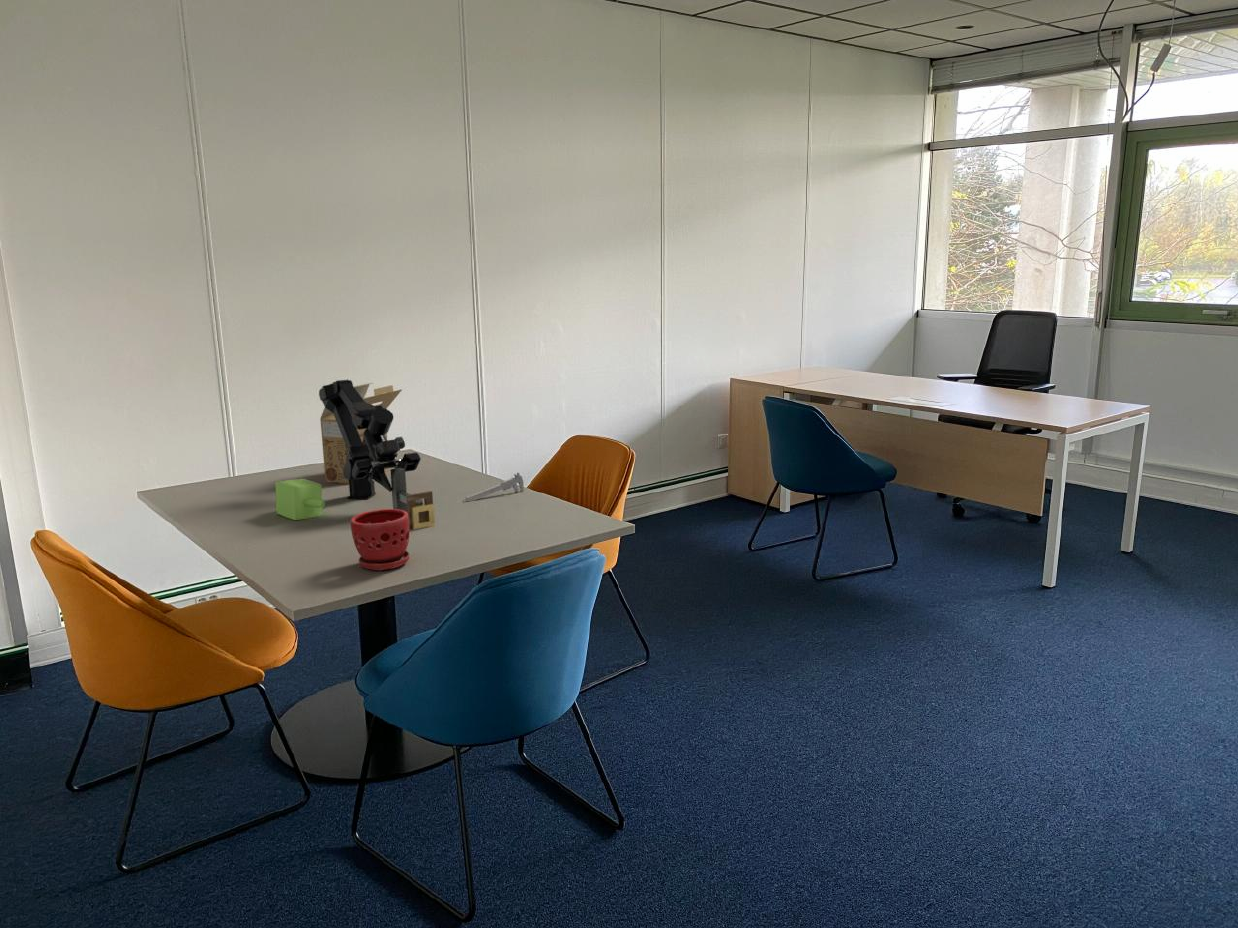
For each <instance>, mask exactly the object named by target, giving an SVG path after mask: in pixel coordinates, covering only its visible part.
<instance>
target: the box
mask: <svg viewBox="0 0 1238 928" xmlns="http://www.w3.org/2000/svg"><path fill="white" fill-rule="evenodd" d="M372 384H373V382H368V383H363V384H360V385H355V386H354V385H353V387H354V388H355V389H356V390H357V392H358V393H359V394H360V396H361V397H362V398H363V400H364V401H365V402H366V403H368V404H371V405H373V404H374V406H379V405H382V407H383V408H385V409H387V410H388V407H389V406H390V405H391V404H392V403H393V402H394V400H396V398H397V397H398V396H399V394H400V393H401V392H402V391H403V389H402V388H401V389H398V390H394V386H393V385H387V386H384V387H383V386H382V387H377V388H374V389H373V394H374V395H372V396H368V397H366V394H367V392H368V390H369V387H370V385H372ZM377 403H378V404H377ZM379 403H380V404H379ZM375 404H376V405H375ZM349 410H350V409H349ZM350 413H351V415H352V412H351V411H350ZM319 420H320V431H321V441H322V442H321V443H322V454H323V467H324V477H325V482H326V481H329V482H328V483H335V482H338V483H337V484H346V483H348V485H349V479H347V478H345V477H344V474H343V469H344V466H345V464H346V457H347V454H348V450H347V447H346V444H345V442H344V439H343V437H342V434H341V432H340V429H339V427H338V424H337V421H336V419H335V416H334V414H333V413H332V412H331V411H329V410H328V409H327V408H325V407H324V408H323V411H322V413H321V415H320V419H319ZM357 430H358V429H357ZM365 430H366V429H359V430H358V433H359V435H360V438H361V440H362V443H363V444H364V445H366V442H363V433H364V431H365ZM385 437H386V439H387V440H388V433H387V434H385ZM384 471H385V473H386V472H389V471H390V468H388V469H384Z"/></svg>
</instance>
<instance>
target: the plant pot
mask: <svg viewBox="0 0 1238 928" xmlns="http://www.w3.org/2000/svg"><path fill="white" fill-rule="evenodd" d="M410 530H411V529H410V528H409V517H408V513H407V512H406V511H403V510H398V509H393V508H388V509H387V508H385V509H376V510H369V511H365V512H362V513H359V514H356V515H354V516H353V517H351V519H350V531H351V535H352V540H353V542H354V546H355V549H356V550H357V552H358V554H359V556H360V557H359V558H358V563H359V565H361V566H362V567H363V568H365V569H368V570H372V571H384V570H391V569H395V568H399V567H401V566H403V565H404V564H406V563H407V562H408V561H409V559H410V557H411V553H410V552H409V551H408V550H407V548H408V546H409V541H410Z"/></svg>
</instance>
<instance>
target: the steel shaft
mask: <svg viewBox="0 0 1238 928" xmlns="http://www.w3.org/2000/svg"><path fill="white" fill-rule="evenodd" d="M389 471H390V485H391V488H392V491H391V497H392V509H398V510H403V511H406V512H407V497H406V495H410V494H411V493H408V492H407V479H406V477H407V476H406V472H405V469H403V468H395V469H394V468H389ZM415 502H416V506H419V505H424V503H423V502H424V501H423V499H419V500H415Z"/></svg>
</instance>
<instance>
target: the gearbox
mask: <svg viewBox="0 0 1238 928" xmlns="http://www.w3.org/2000/svg"><path fill="white" fill-rule="evenodd" d="M322 490H323V489H322V484H320V483H317V482H315V481H312V480H308V479H305V478H299V479H298V478H297V479H287V480H280V481H276V482H275V508H276V509H275V510H276V514H278V515H280V516H282V517H285V518H287V519H290V520H294V521H299V520H306V519H312V518H314V517H320V516H322V515H323V508H324V507H325V503H326V502H325V500H324V499H323V494H322V493H323V491H322Z"/></svg>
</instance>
